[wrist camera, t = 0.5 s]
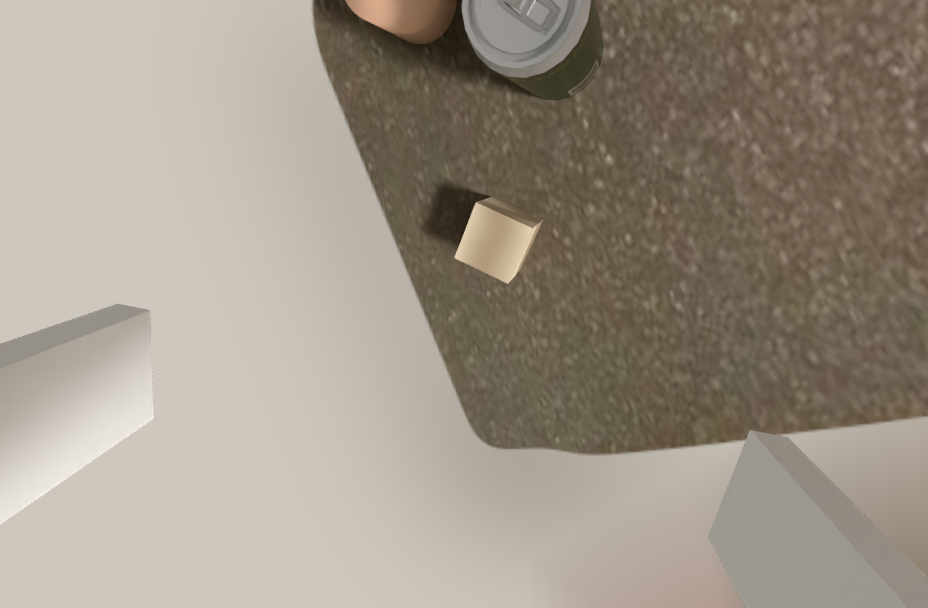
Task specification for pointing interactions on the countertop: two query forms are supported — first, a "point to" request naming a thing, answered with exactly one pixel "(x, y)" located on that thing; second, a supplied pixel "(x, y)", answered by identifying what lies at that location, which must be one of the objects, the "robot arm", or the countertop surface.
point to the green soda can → (537, 42)
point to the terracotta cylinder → (408, 17)
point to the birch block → (497, 238)
